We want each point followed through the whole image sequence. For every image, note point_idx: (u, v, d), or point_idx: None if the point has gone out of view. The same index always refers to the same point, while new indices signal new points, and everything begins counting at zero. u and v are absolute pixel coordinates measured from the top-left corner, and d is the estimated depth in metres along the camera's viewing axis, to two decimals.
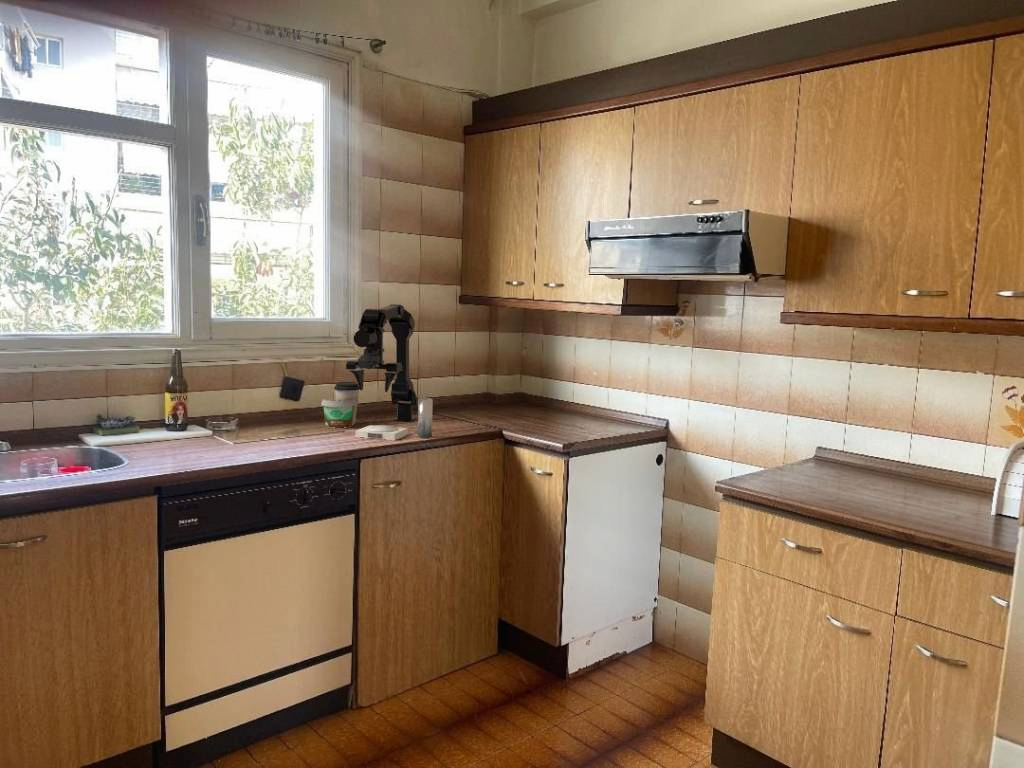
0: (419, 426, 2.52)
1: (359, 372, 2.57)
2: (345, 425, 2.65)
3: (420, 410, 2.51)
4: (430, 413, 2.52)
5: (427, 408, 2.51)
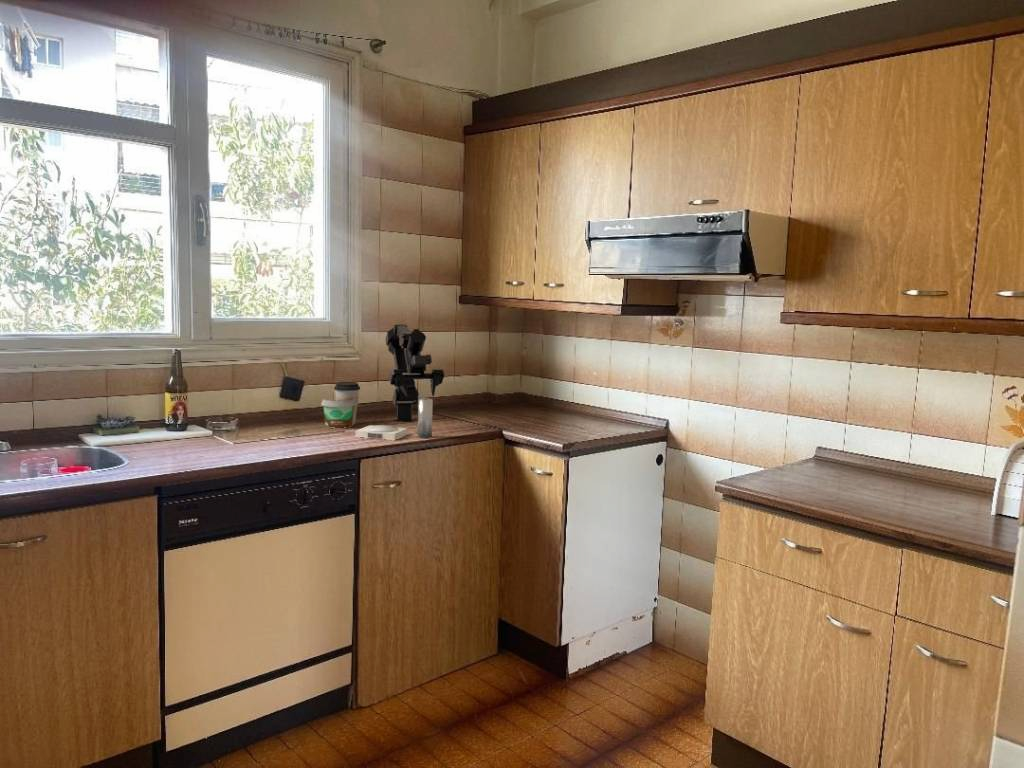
0: (419, 426, 2.52)
1: None
2: (345, 425, 2.65)
3: (420, 410, 2.51)
4: (430, 413, 2.52)
5: (427, 408, 2.51)
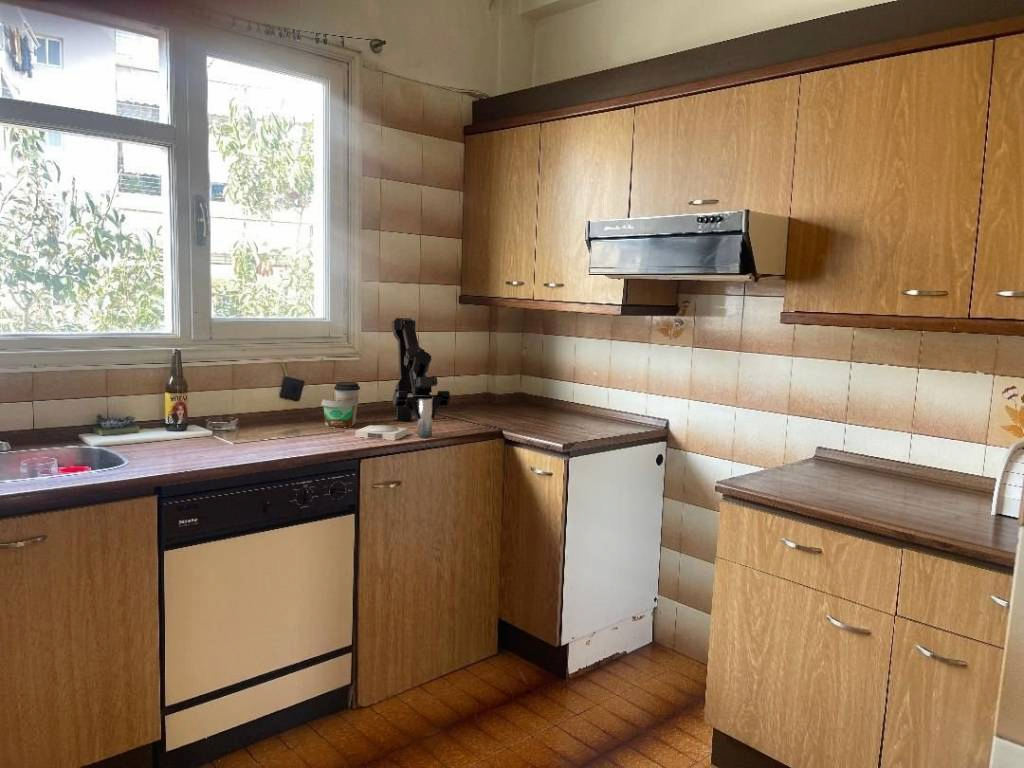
0: (419, 426, 2.52)
1: None
2: (345, 425, 2.65)
3: (420, 410, 2.51)
4: (430, 413, 2.52)
5: (427, 408, 2.51)
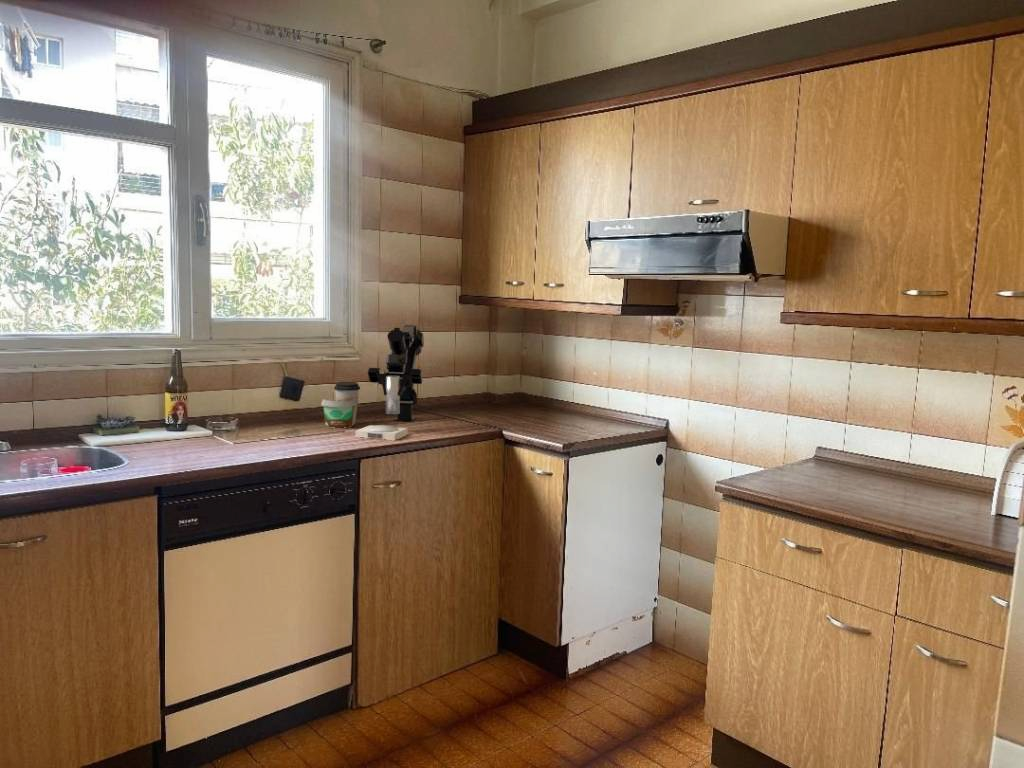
0: (386, 402, 2.60)
1: (385, 379, 2.62)
2: (345, 425, 2.65)
3: (386, 386, 2.59)
4: (395, 390, 2.58)
5: (391, 385, 2.58)
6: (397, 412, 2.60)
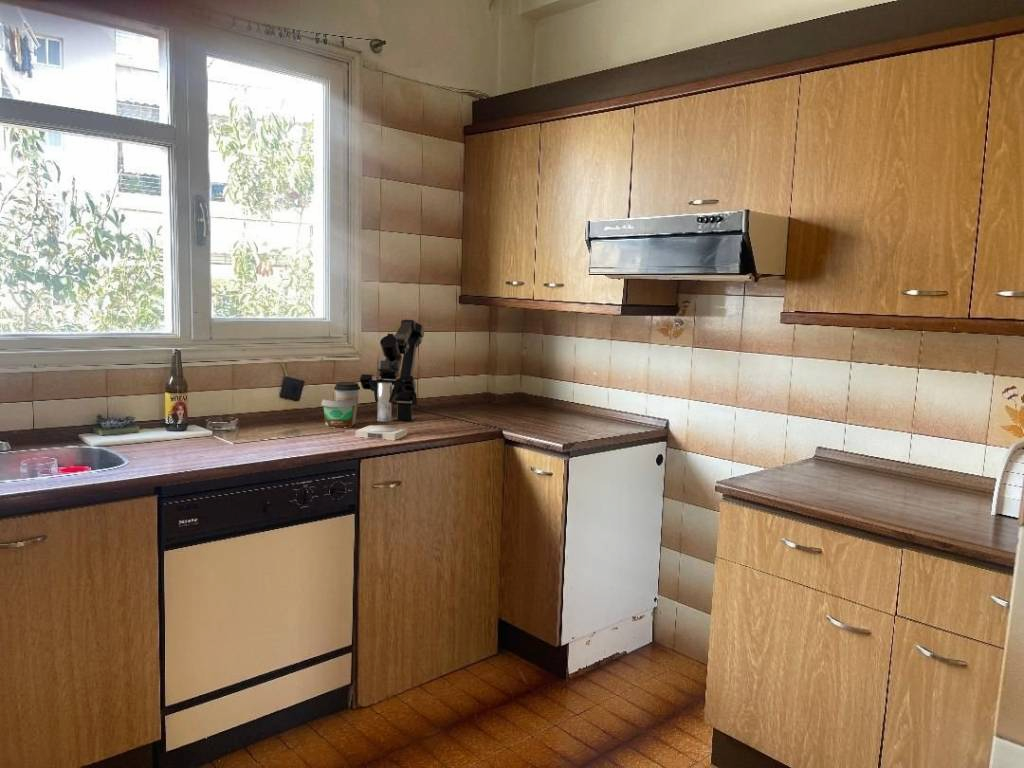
0: (377, 409, 2.55)
1: None
2: (345, 425, 2.65)
3: (377, 393, 2.54)
4: (386, 397, 2.53)
5: (382, 392, 2.52)
6: (388, 419, 2.54)
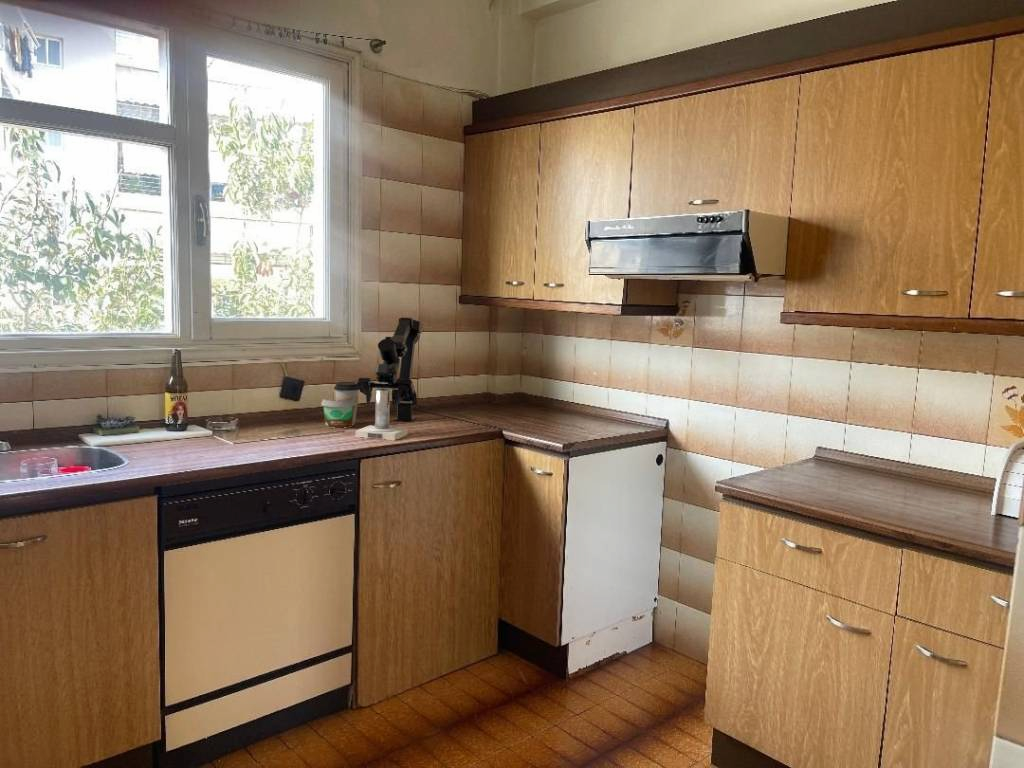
0: (375, 416, 2.52)
1: (369, 389, 2.55)
2: (345, 425, 2.65)
3: (375, 400, 2.51)
4: (384, 404, 2.51)
5: (380, 399, 2.50)
6: (386, 427, 2.52)
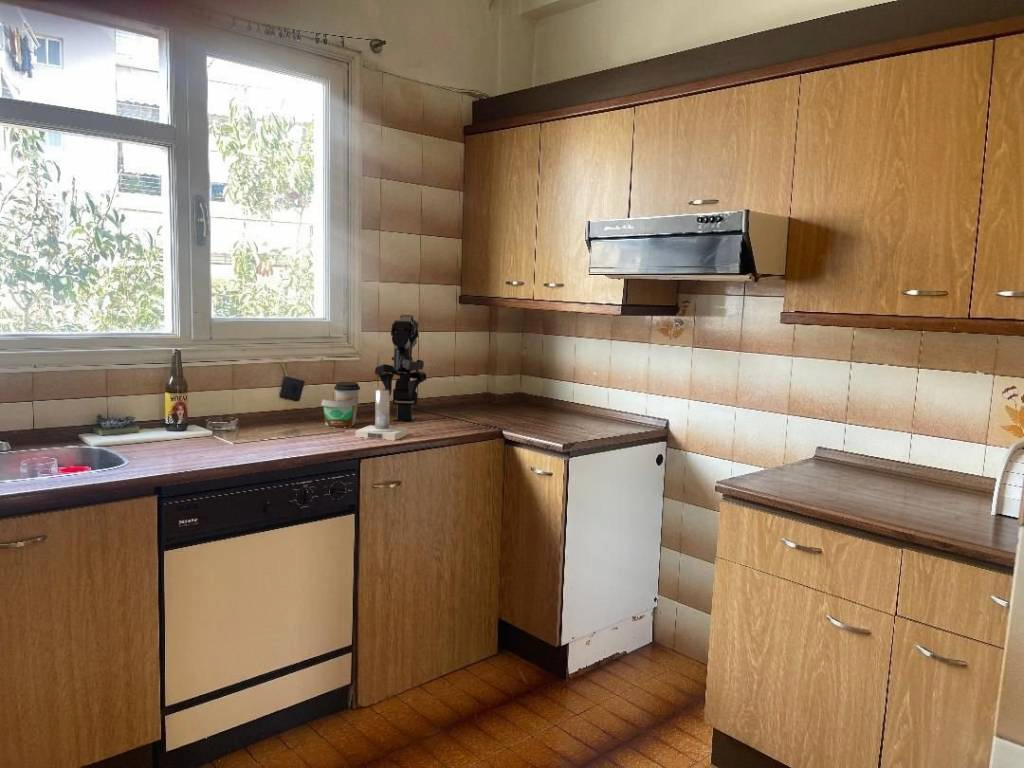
0: (375, 416, 2.52)
1: None
2: (345, 425, 2.65)
3: (375, 400, 2.51)
4: (384, 404, 2.51)
5: (380, 399, 2.50)
6: (386, 427, 2.52)
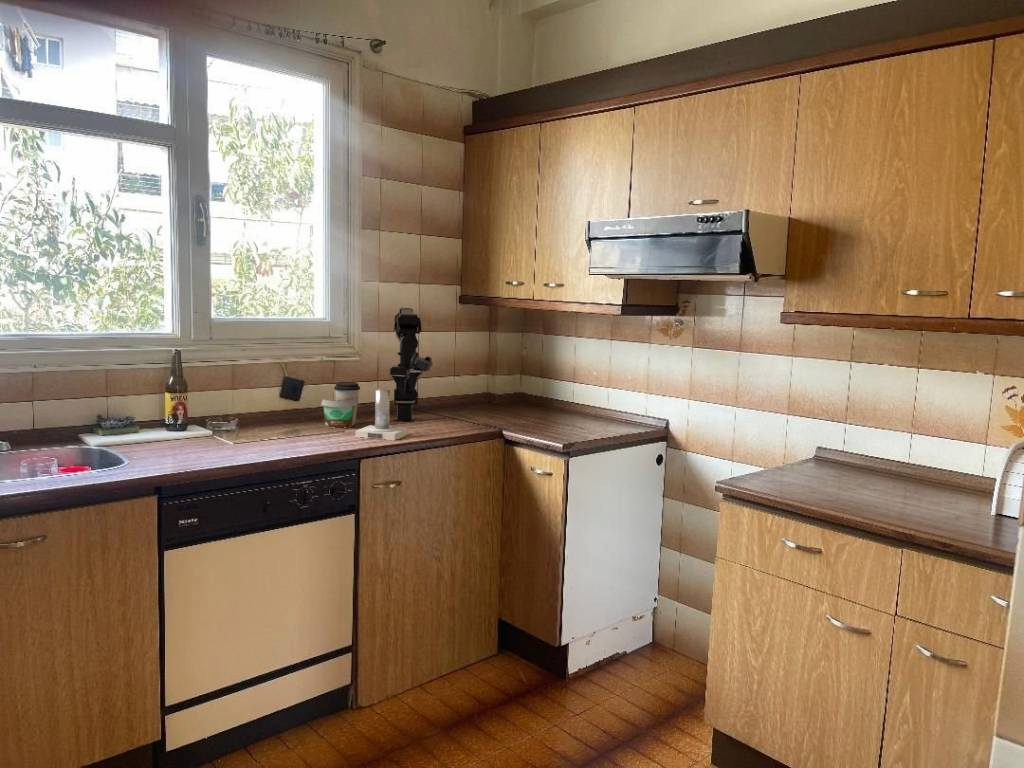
0: (375, 416, 2.52)
1: None
2: (345, 425, 2.65)
3: (375, 400, 2.51)
4: (384, 404, 2.51)
5: (380, 399, 2.50)
6: (386, 427, 2.52)
